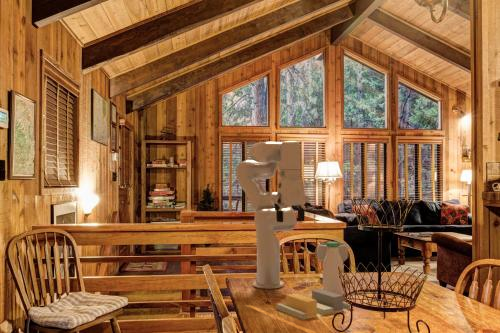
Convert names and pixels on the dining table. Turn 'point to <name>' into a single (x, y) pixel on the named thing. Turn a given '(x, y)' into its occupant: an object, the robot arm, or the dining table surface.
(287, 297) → the ochre bar
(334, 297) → the slate bar
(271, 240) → the robot arm
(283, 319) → the dining table surface
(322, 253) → the chalice
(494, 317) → the dining table surface
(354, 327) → the dining table surface
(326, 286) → the milk bottle
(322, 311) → the slot board
